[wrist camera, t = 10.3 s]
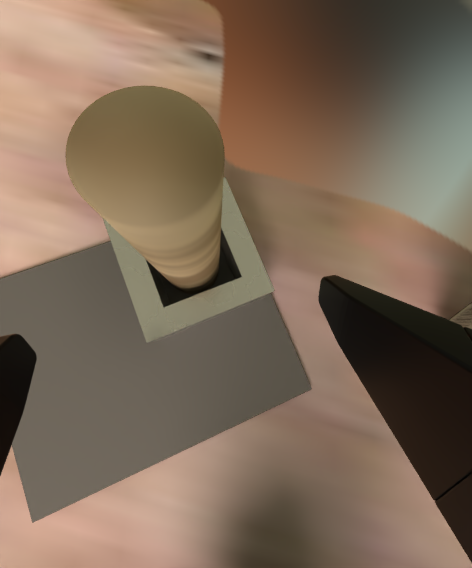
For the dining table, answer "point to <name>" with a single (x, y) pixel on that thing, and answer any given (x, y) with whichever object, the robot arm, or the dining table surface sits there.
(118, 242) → the square socket block
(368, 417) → the dining table surface
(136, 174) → the pin
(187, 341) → the mat
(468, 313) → the coffee box
